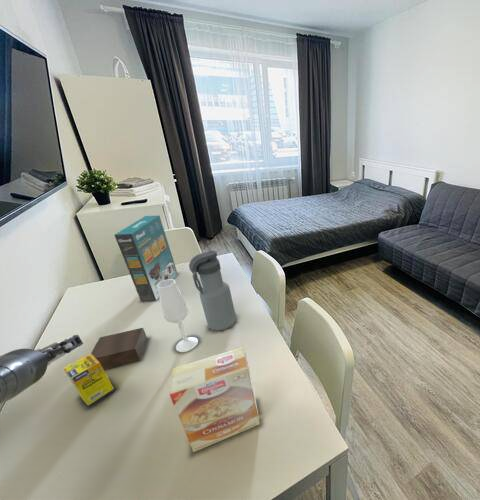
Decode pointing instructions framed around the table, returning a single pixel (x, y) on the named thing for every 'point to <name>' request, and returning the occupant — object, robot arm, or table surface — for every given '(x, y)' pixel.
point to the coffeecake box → (214, 398)
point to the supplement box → (89, 379)
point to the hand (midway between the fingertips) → (53, 350)
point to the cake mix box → (147, 255)
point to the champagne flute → (175, 311)
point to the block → (120, 348)
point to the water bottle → (213, 291)
